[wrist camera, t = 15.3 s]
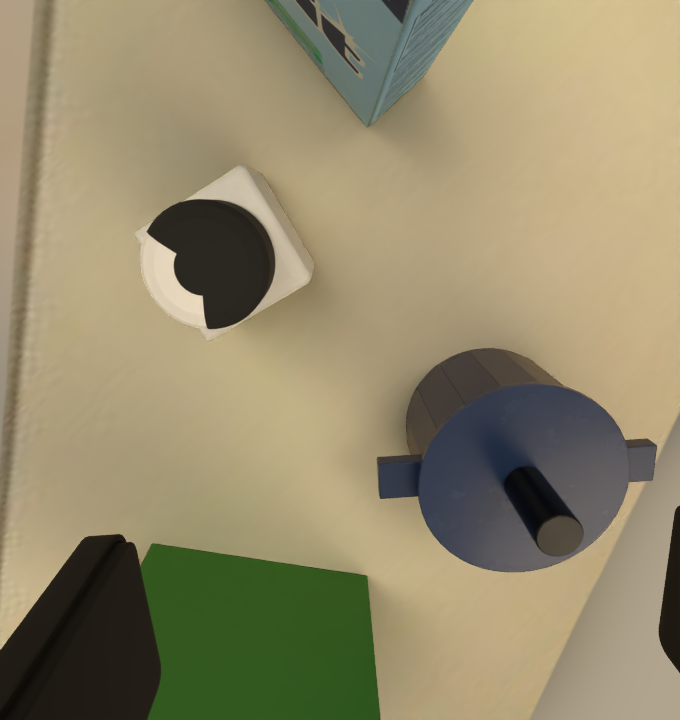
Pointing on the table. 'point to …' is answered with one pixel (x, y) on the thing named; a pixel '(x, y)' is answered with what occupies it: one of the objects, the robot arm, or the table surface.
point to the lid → (523, 477)
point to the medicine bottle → (223, 254)
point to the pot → (457, 386)
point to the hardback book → (258, 639)
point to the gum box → (371, 44)
